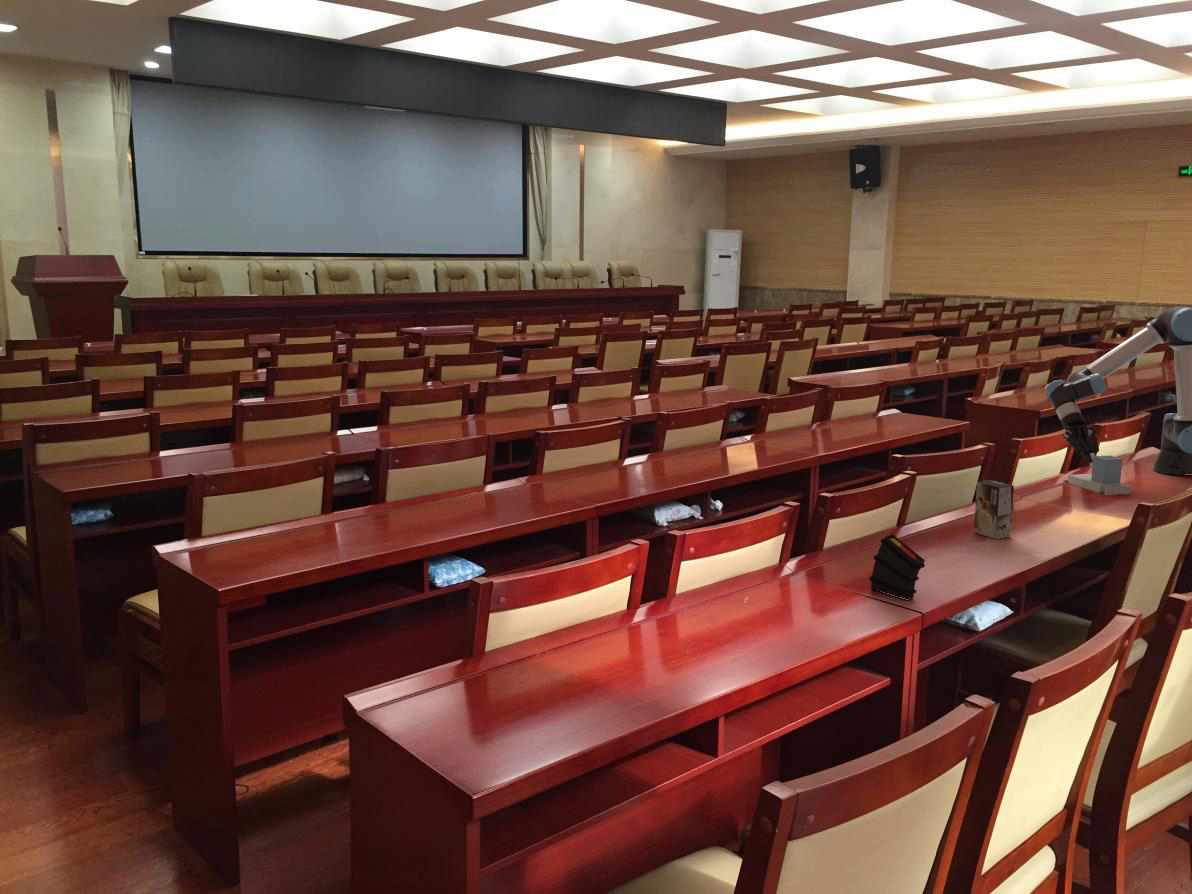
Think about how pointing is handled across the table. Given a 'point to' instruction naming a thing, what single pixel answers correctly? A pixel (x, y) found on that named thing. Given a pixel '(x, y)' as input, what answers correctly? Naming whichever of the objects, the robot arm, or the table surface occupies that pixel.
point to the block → (1106, 469)
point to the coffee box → (993, 509)
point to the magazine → (896, 568)
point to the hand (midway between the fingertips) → (1097, 469)
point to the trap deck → (1098, 485)
